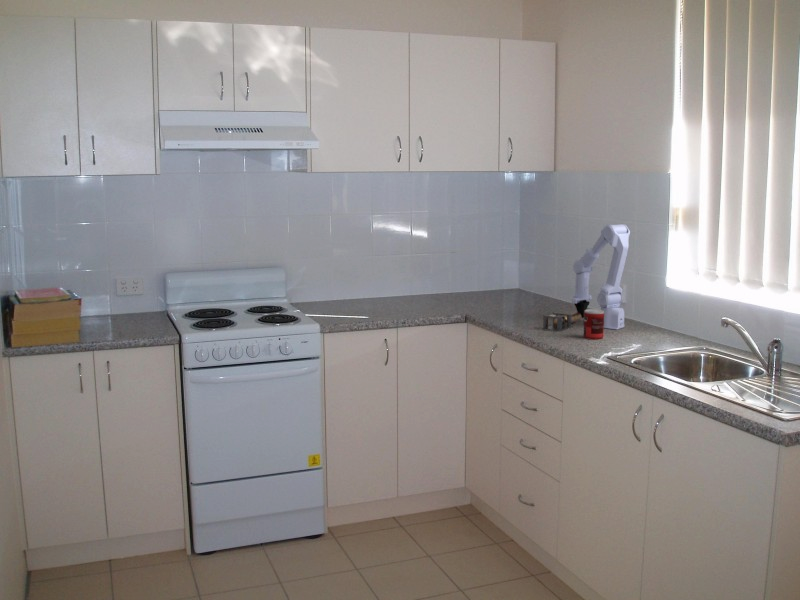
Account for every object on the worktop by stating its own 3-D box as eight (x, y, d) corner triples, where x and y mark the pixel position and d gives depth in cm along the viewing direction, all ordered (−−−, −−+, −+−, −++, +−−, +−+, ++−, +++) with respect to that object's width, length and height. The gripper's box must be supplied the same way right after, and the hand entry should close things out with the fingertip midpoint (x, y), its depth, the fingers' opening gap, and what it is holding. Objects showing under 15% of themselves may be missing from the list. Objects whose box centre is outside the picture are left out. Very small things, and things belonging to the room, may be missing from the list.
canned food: (588, 334, 338) (589, 308, 336) (606, 337, 333) (607, 310, 331) (580, 338, 332) (580, 311, 331) (598, 340, 327) (599, 313, 326)
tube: (581, 321, 364) (581, 312, 364) (561, 327, 351) (561, 318, 350) (573, 320, 367) (573, 311, 366) (553, 326, 353) (553, 317, 353)
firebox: (572, 327, 354) (572, 312, 353) (558, 331, 345) (558, 316, 344) (556, 325, 359) (556, 310, 358) (541, 329, 350) (542, 314, 349)
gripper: (581, 284, 374) (581, 314, 376) (566, 288, 363) (565, 318, 365) (596, 286, 369) (595, 315, 372) (580, 289, 358) (579, 320, 361)
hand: (581, 317), depth 368 cm, fingers closed
